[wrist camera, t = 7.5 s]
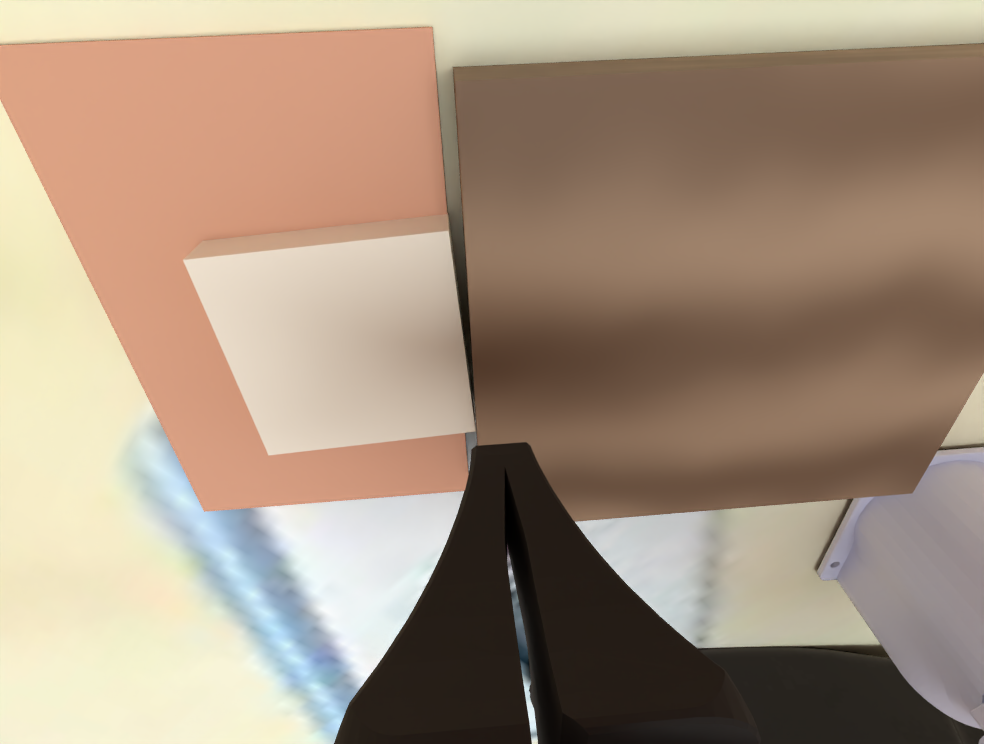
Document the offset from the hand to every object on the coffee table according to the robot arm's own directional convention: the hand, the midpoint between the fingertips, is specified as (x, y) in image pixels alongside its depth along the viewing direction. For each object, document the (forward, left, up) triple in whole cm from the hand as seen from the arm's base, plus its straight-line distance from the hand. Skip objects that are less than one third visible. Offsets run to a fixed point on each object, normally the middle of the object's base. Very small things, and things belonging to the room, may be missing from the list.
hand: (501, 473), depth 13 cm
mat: (0, +7, -8) cm, 11 cm away
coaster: (0, +5, -8) cm, 9 cm away
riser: (0, -8, -8) cm, 12 cm away
